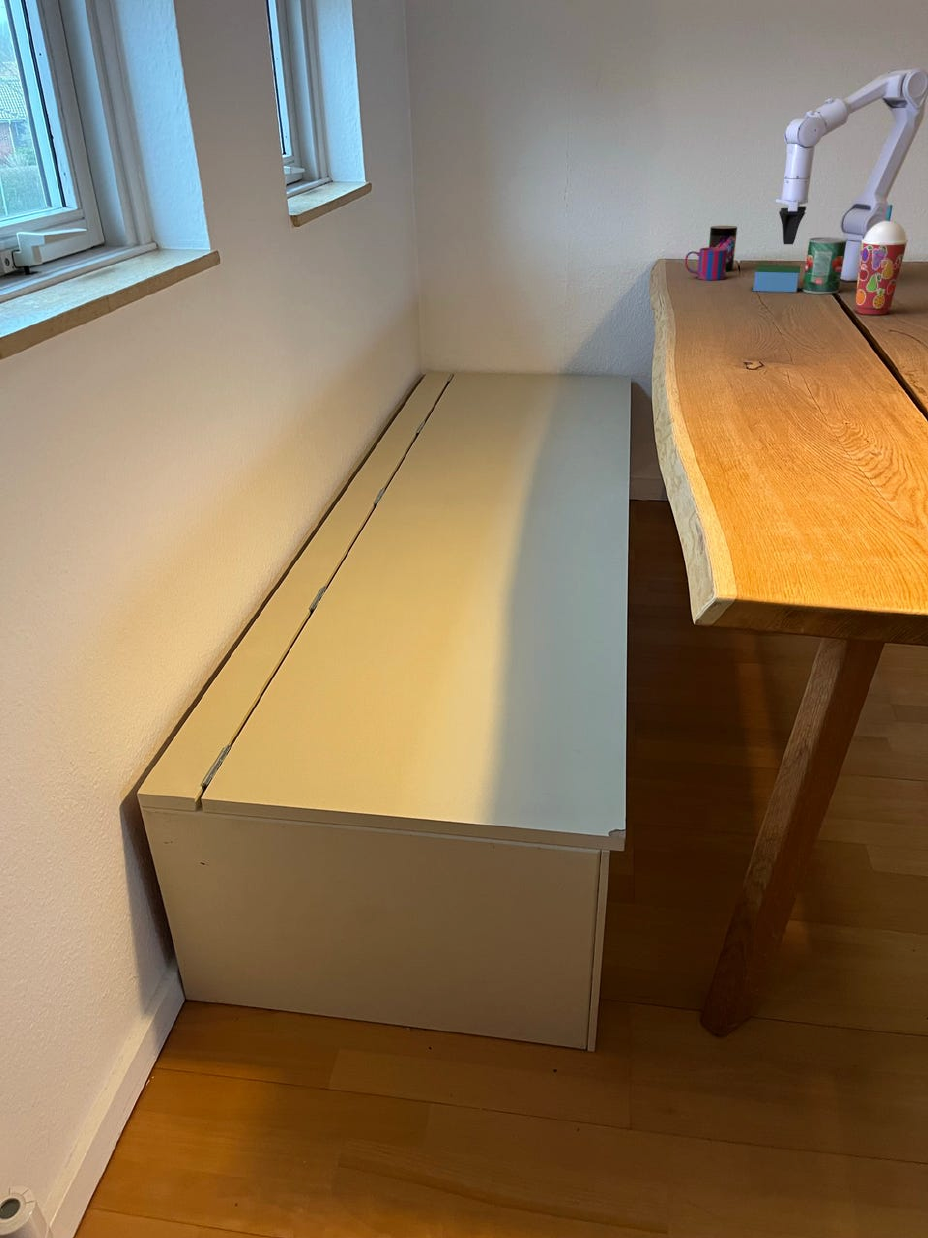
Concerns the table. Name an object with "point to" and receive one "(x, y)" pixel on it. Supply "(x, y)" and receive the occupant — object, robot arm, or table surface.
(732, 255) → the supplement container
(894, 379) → the table surface
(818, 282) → the canned tomato
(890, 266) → the smoothie
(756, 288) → the sponge
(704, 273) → the mug
